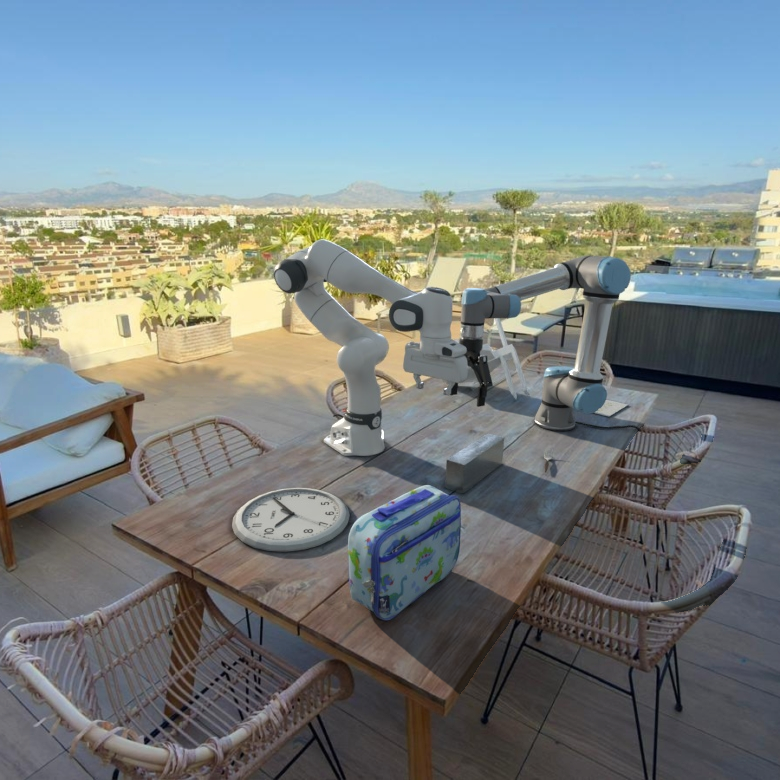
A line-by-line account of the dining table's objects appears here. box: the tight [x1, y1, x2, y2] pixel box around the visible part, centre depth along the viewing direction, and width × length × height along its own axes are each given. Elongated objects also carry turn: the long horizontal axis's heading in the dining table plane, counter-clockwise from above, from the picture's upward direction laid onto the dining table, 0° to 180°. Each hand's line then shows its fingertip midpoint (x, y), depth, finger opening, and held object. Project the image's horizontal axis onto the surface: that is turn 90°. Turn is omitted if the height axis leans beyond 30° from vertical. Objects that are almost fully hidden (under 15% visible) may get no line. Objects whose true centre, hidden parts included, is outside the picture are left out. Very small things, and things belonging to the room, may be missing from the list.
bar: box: [444, 432, 505, 495], centre depth 160 cm, size 26×6×9 cm, turn 143°
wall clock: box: [231, 487, 351, 553], centre depth 136 cm, size 30×2×30 cm
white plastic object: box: [440, 318, 531, 400], centre depth 245 cm, size 37×45×31 cm
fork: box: [543, 448, 554, 473], centre depth 170 cm, size 3×16×2 cm, turn 160°
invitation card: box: [593, 399, 629, 418], centre depth 226 cm, size 21×1×15 cm
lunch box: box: [347, 484, 462, 621], centre depth 107 cm, size 26×11×21 cm, turn 134°
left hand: (433, 391), depth 153 cm, fingers open, 8 cm apart
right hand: (466, 400), depth 174 cm, fingers open, 13 cm apart
